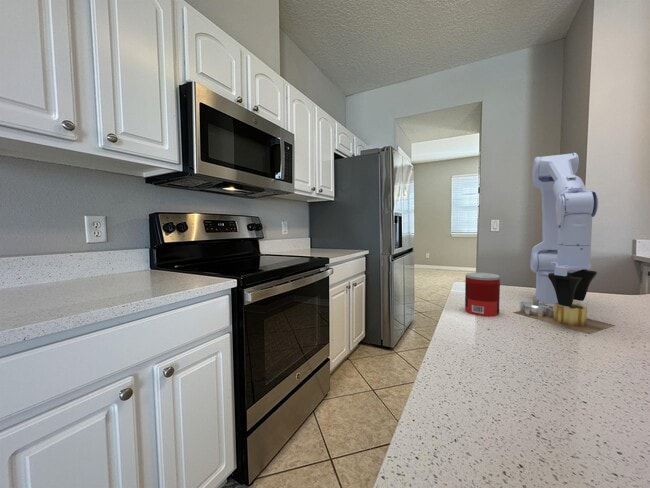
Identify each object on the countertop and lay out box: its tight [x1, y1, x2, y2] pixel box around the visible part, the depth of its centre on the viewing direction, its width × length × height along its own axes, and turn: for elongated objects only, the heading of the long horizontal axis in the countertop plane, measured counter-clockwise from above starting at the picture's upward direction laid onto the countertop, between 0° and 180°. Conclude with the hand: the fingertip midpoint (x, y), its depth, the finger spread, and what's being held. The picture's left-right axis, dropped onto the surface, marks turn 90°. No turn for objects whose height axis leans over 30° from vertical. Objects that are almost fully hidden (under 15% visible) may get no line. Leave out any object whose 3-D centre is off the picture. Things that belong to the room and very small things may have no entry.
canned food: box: [464, 272, 501, 318], centre depth 74 cm, size 8×8×11 cm
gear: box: [518, 300, 554, 318], centre depth 73 cm, size 7×7×2 cm
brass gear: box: [553, 302, 588, 327], centre depth 66 cm, size 6×6×4 cm
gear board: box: [512, 298, 616, 335], centre depth 68 cm, size 11×16×4 cm
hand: (571, 302), depth 65 cm, fingers open, 7 cm apart
